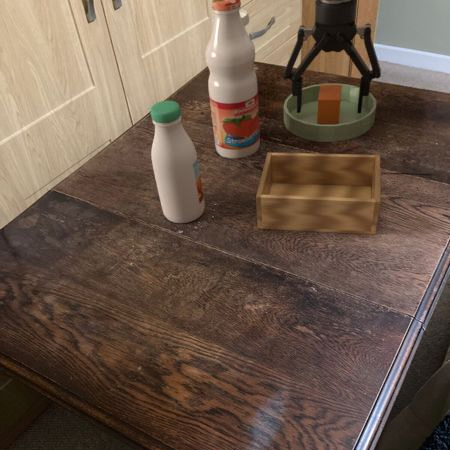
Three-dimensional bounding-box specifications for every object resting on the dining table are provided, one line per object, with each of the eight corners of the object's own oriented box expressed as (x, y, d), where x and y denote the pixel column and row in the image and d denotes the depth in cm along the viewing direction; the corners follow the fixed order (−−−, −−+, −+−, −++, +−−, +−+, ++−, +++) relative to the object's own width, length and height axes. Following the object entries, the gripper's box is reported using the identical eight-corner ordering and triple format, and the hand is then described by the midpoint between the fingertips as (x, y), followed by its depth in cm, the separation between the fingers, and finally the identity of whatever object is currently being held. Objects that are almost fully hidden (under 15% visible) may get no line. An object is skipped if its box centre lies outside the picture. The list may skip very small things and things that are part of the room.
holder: (375, 186, 90) (380, 154, 85) (375, 234, 81) (380, 202, 76) (268, 183, 94) (267, 152, 89) (257, 228, 85) (255, 196, 80)
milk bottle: (196, 227, 87) (177, 120, 72) (157, 221, 89) (131, 116, 75) (211, 201, 92) (196, 96, 77) (173, 196, 94) (152, 93, 79)
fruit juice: (242, 132, 108) (231, -14, 88) (269, 148, 102) (265, -4, 82) (207, 148, 105) (187, 1, 84) (233, 166, 99) (219, 12, 79)
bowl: (373, 100, 112) (376, 83, 109) (373, 144, 100) (376, 126, 97) (289, 100, 116) (289, 83, 113) (279, 143, 103) (278, 125, 101)
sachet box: (339, 111, 109) (341, 84, 105) (338, 127, 105) (340, 99, 100) (319, 111, 110) (320, 84, 106) (316, 126, 106) (318, 99, 101)
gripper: (267, 6, 90) (270, 118, 106) (406, 1, 85) (388, 119, 101) (273, -7, 95) (275, 101, 111) (404, -13, 90) (387, 102, 106)
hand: (328, 110), depth 106 cm, fingers open, 12 cm apart
